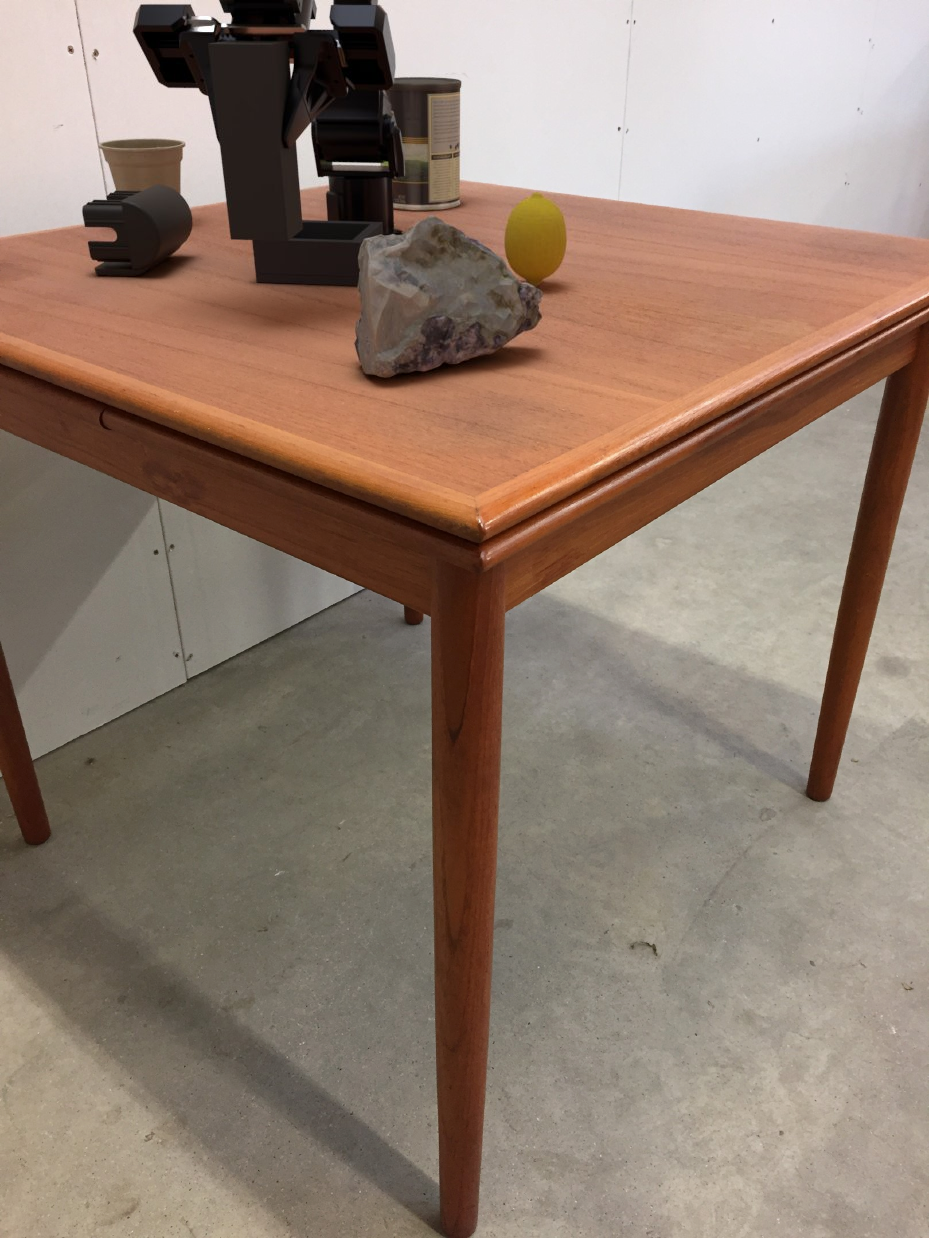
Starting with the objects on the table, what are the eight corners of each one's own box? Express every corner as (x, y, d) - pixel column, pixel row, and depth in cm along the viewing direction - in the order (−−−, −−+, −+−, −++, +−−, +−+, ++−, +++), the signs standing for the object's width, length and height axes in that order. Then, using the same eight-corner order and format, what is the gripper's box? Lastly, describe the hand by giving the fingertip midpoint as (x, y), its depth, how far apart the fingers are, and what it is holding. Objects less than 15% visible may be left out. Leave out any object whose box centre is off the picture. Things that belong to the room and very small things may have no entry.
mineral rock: (542, 346, 76) (548, 203, 71) (535, 392, 67) (541, 233, 61) (373, 340, 77) (367, 200, 72) (344, 385, 68) (334, 228, 63)
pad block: (248, 227, 80) (228, 40, 73) (303, 229, 80) (288, 41, 73) (230, 239, 77) (207, 43, 70) (288, 241, 76) (270, 44, 69)
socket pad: (287, 259, 101) (283, 219, 99) (384, 262, 100) (382, 222, 98) (256, 282, 93) (251, 239, 91) (362, 286, 92) (360, 242, 90)
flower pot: (212, 222, 118) (203, 141, 113) (151, 236, 111) (138, 150, 107) (156, 214, 122) (144, 136, 118) (94, 227, 115) (79, 144, 111)
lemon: (570, 282, 93) (575, 189, 89) (555, 296, 89) (560, 199, 84) (513, 277, 95) (515, 186, 90) (495, 291, 90) (497, 195, 86)
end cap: (165, 278, 94) (154, 201, 90) (91, 277, 94) (77, 200, 91) (198, 255, 102) (188, 184, 99) (130, 254, 103) (118, 183, 99)
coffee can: (388, 212, 124) (384, 83, 116) (375, 199, 132) (369, 77, 125) (470, 209, 126) (470, 82, 118) (451, 196, 134) (450, 76, 127)
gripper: (119, -131, 70) (81, 59, 67) (382, -134, 68) (357, 61, 65) (176, 0, 81) (146, 169, 78) (405, 1, 79) (384, 174, 76)
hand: (252, 144), depth 74 cm, fingers closed on pad block, 4 cm apart
